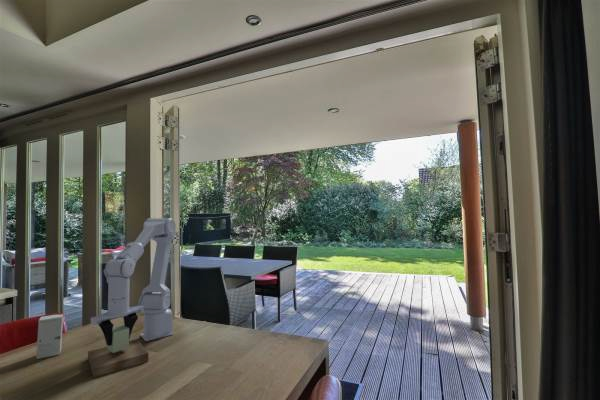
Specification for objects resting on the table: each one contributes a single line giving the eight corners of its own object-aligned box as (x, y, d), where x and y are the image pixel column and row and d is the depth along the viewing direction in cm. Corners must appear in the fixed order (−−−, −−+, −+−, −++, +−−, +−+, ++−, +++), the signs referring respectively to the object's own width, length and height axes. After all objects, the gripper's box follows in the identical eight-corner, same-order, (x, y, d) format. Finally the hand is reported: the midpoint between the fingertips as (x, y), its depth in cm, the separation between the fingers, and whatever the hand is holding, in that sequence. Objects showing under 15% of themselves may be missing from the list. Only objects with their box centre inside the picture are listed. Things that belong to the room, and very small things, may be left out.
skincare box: (35, 359, 94) (37, 320, 94) (38, 354, 98) (39, 316, 98) (60, 354, 97) (61, 316, 98) (62, 349, 101) (63, 313, 102)
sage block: (122, 344, 96) (122, 325, 96) (128, 347, 93) (129, 328, 94) (106, 349, 92) (107, 329, 93) (113, 353, 90) (113, 332, 90)
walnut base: (137, 346, 103) (137, 338, 103) (148, 361, 92) (148, 352, 92) (87, 359, 93) (88, 351, 94) (93, 377, 83) (93, 368, 83)
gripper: (136, 290, 102) (136, 331, 101) (87, 300, 90) (86, 346, 90) (147, 293, 98) (146, 336, 97) (96, 304, 86) (95, 353, 85)
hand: (118, 341), depth 93 cm, fingers open, 5 cm apart
